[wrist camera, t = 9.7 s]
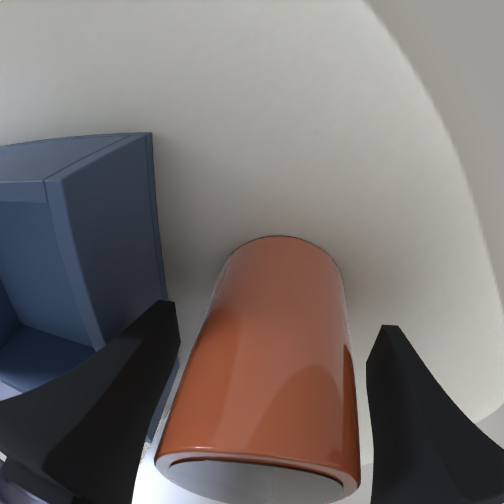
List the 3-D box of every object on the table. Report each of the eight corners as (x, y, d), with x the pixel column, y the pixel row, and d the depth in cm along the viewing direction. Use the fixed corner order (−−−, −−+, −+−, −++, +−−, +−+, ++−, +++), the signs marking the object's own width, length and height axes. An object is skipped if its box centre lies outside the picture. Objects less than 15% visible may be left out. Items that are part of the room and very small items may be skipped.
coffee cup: (220, 326, 14) (170, 494, 8) (218, 228, 12) (127, 429, 5) (329, 339, 14) (330, 513, 7) (354, 243, 11) (395, 460, 4)
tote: (22, 323, 18) (-15, 372, 13) (-33, 152, 11) (-100, 190, 7) (180, 366, 16) (151, 444, 12) (151, 132, 10) (61, 179, 6)
